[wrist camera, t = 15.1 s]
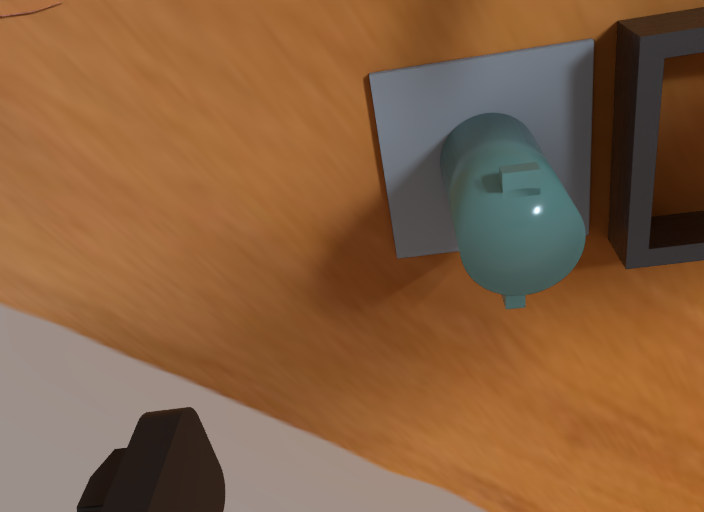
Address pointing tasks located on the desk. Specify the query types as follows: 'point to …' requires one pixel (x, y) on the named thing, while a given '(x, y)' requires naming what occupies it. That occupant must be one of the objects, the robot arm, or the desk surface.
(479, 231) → the glazed jug
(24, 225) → the desk surface
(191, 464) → the robot arm
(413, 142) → the slate grey mat
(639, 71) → the dark grey rectangular frame
